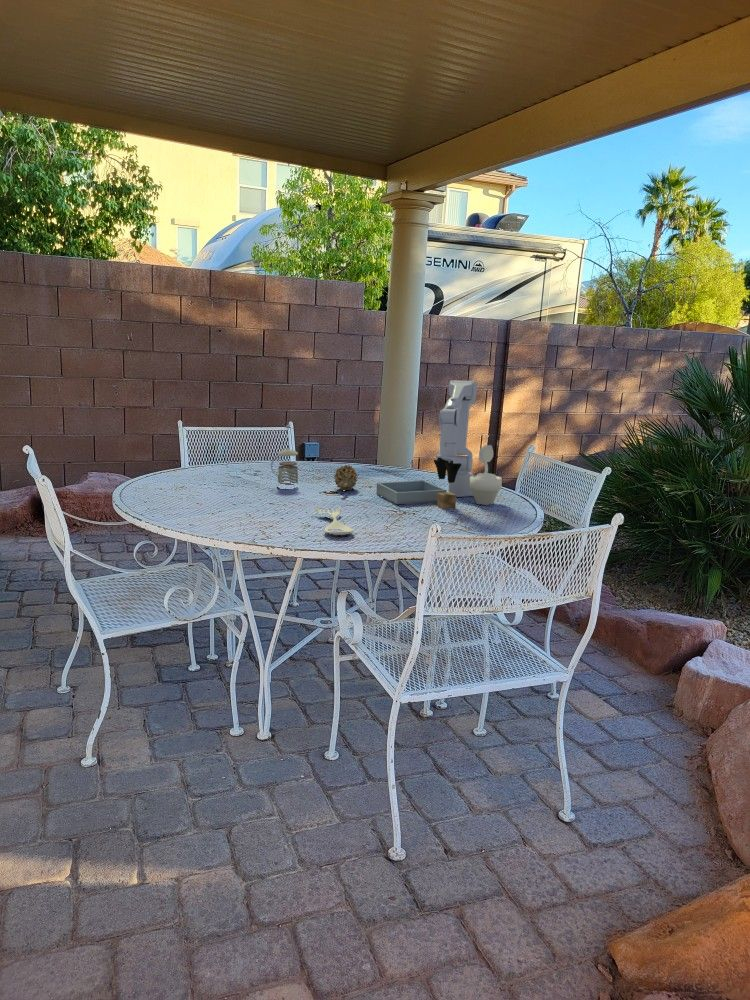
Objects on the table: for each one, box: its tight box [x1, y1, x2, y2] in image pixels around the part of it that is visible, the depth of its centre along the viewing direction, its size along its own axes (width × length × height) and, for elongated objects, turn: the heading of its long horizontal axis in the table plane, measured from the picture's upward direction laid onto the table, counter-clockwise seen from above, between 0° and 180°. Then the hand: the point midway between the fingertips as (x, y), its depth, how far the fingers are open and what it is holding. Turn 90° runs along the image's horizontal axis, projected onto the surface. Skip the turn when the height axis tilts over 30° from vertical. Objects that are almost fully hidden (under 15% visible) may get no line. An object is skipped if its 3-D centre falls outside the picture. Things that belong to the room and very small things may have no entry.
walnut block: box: [436, 491, 457, 510], centre depth 262 cm, size 5×5×5 cm
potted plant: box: [470, 441, 504, 506], centre depth 268 cm, size 13×12×25 cm
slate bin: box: [376, 480, 448, 505], centre depth 277 cm, size 20×20×4 cm
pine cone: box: [333, 464, 358, 491], centre depth 285 cm, size 22×10×10 cm, turn 1°
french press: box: [270, 424, 299, 485], centre depth 290 cm, size 10×12×25 cm
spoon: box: [314, 506, 355, 536], centre depth 232 cm, size 9×32×4 cm, turn 11°
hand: (446, 480), depth 261 cm, fingers open, 7 cm apart
